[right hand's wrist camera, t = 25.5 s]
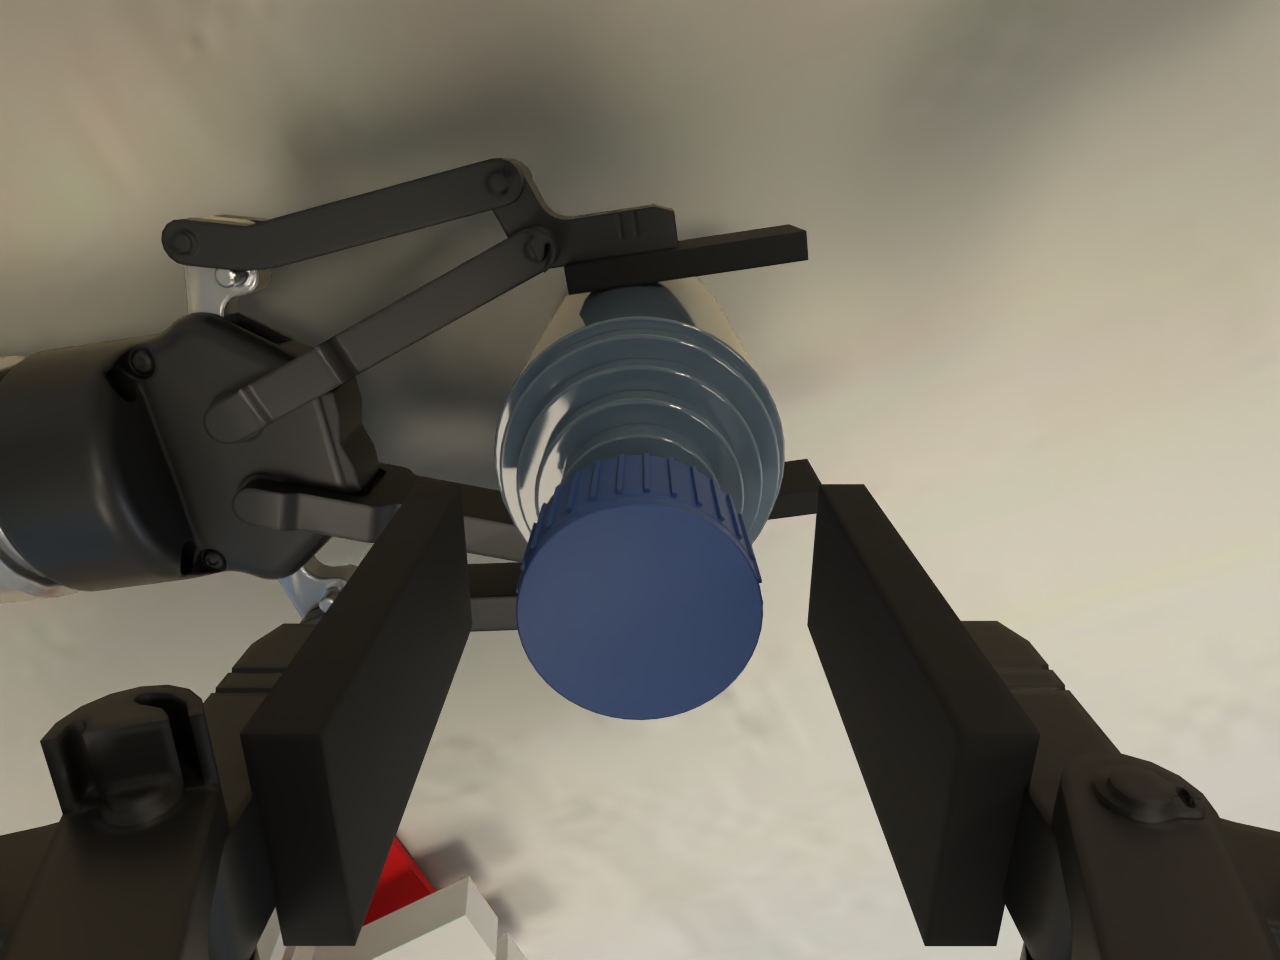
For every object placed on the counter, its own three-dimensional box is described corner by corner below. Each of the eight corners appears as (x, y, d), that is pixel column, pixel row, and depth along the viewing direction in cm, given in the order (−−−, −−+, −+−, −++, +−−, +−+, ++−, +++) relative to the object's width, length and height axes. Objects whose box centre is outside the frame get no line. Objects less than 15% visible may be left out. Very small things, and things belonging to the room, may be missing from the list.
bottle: (545, 425, 32) (427, 746, 14) (556, 247, 29) (431, 366, 12) (716, 442, 32) (810, 778, 14) (741, 267, 30) (888, 412, 12)
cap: (523, 636, 15) (504, 711, 13) (537, 437, 14) (520, 486, 12) (730, 657, 15) (744, 734, 13) (765, 463, 14) (787, 515, 12)
